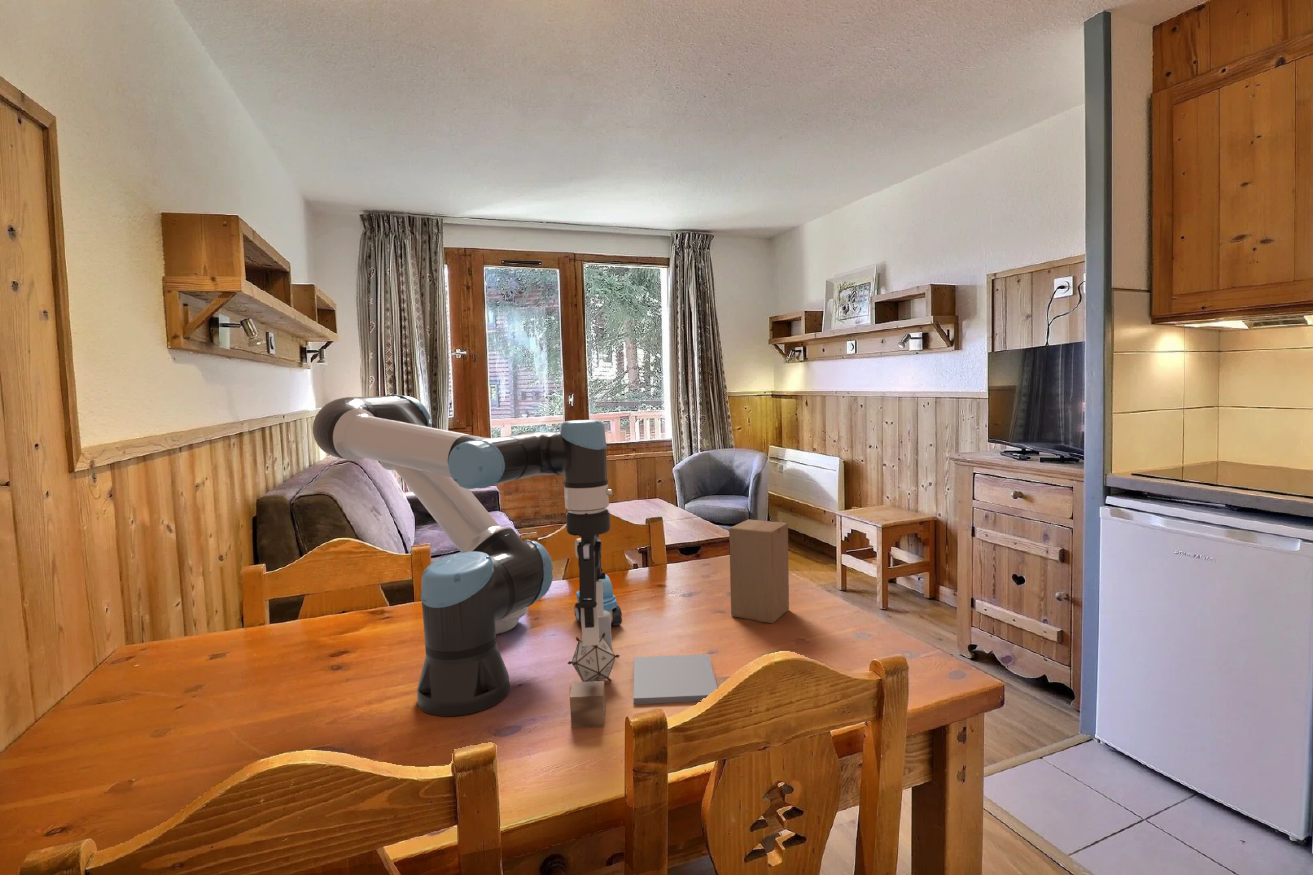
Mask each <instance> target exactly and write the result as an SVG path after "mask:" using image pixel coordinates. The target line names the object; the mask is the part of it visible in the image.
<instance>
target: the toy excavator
mask: <svg viewBox="0 0 1313 875" xmlns="http://www.w3.org/2000/svg"><path fill="white" fill-rule="evenodd" d="M579 541H581V537H579V538H576V539H575V541H574V552H575V553H574V554H575V558H576V559H578V558H579V555H578V552H577V545H579ZM605 576H606V578H605V579H599V581H600V580H602V588H603V608H604V611H608V612H610V615H611V626H618V625H621V624H622V623H623V618H622V615H623V613H622V609H621V607H620V605H618V602H617V598H616V595H614V590H613V585H612V581H611V579H610V576H608V574H606V573H605ZM584 600H588V599H584ZM576 601H577V603H579V602H580V595H579V590H577V591H576ZM574 616H575V619H576V621H577V623H580V626H581V627H582V623H581V608H576V603H575V604H574Z"/></svg>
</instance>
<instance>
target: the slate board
mask: <svg viewBox="0 0 1313 875" xmlns="http://www.w3.org/2000/svg"><path fill="white" fill-rule="evenodd" d="M717 688H718V686H717V681H716V676H715V673H714V668H713V666H712V661H711V658H710V654H708V653H703V654H681V655H680V654H679V655H678V654H677V655H676V654H675V655H661V656H660V655H658V656H657V655H655V656H654V655H653V656H652V655H651V656H639V657H638V656H637V657H636V656H635V657H633V697H632V698H633V705H647V704H649V705H650V704H652V705H653V704H667V703H668V704H669V703H671V704H673V703H691V702H692V703H693V702H701V701H700V700H702V699H703V698H706V697H707V696H708V695H709V694H710V693H712V692H713V691H714V690H715V689H717Z"/></svg>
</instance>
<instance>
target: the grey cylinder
mask: <svg viewBox="0 0 1313 875" xmlns="http://www.w3.org/2000/svg"><path fill="white" fill-rule="evenodd" d="M598 625H599V637H602V635H603V633H605V636H604V639H605V640H606V642H607V643H608V645H609V646H610V648H611V650H612V649H613V647H612V646H613V645H612V640H613V639H612V624H611V615H610V612H608V611H604V616H598ZM612 651H613V650H612Z"/></svg>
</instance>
